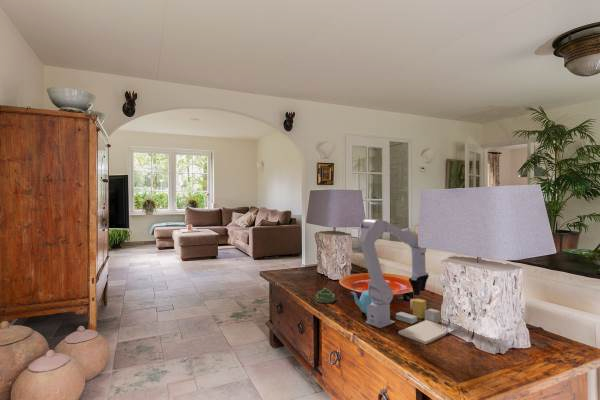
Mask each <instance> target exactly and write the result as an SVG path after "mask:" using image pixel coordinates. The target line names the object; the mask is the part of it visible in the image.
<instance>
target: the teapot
mask: <svg viewBox="0 0 600 400" xmlns="http://www.w3.org/2000/svg"><path fill="white" fill-rule="evenodd" d="M350 293H351V294H352V295H353V298H354V302H355V305H357V307H359V309H360V311H361V313H364V314H365V315H364V316H365V317H367V307H368V305H370V304H371V303H372V300H371V297H370V296H369V293H368V289H367V290H363V291H362V293H361V295H360V297H359V299H358V295H357V293H356V292H355V291H350Z"/></svg>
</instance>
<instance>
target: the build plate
mask: <svg viewBox="0 0 600 400" xmlns="http://www.w3.org/2000/svg"><path fill="white" fill-rule="evenodd" d="M397 299H398V300H402V301H405V302H410V299H414V292H413V291H412V292H409V293H406V294H403V293H402V296H401V297H398V298H397Z"/></svg>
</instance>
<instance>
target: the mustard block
mask: <svg viewBox="0 0 600 400" xmlns="http://www.w3.org/2000/svg"><path fill="white" fill-rule="evenodd" d="M414 299H415V300H413V310H412V315H414V316H417V319H425V310H427V300H425V299H421V298H414Z"/></svg>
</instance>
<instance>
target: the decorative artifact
mask: <svg viewBox="0 0 600 400" xmlns="http://www.w3.org/2000/svg"><path fill="white" fill-rule="evenodd" d="M335 301H336V295H335V293H332V290H330V289H328V288H327V287H326V286H324V288H322V289H321V290H320V291H317V292H316V294H315V302H317V303H322V304H330V302H331V303H333V302H335Z"/></svg>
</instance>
